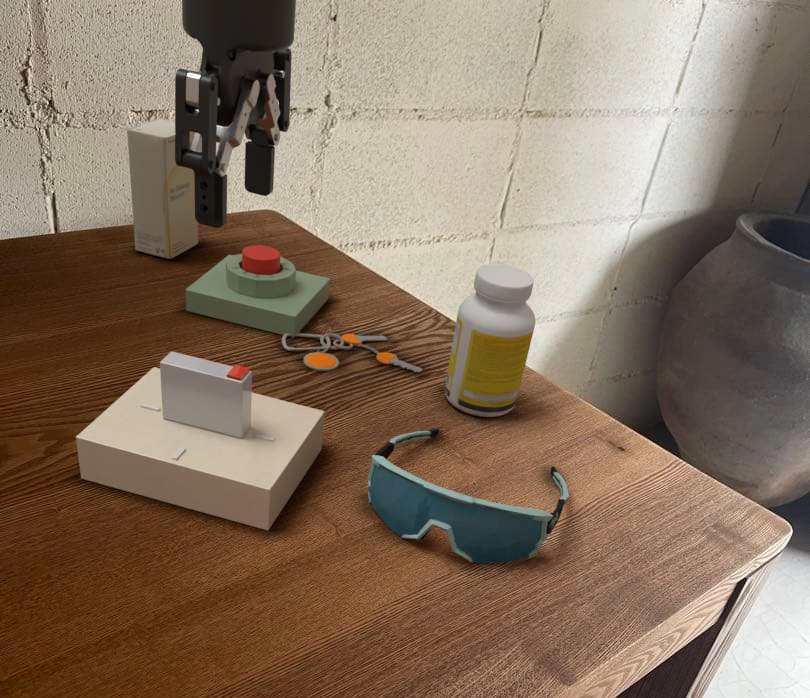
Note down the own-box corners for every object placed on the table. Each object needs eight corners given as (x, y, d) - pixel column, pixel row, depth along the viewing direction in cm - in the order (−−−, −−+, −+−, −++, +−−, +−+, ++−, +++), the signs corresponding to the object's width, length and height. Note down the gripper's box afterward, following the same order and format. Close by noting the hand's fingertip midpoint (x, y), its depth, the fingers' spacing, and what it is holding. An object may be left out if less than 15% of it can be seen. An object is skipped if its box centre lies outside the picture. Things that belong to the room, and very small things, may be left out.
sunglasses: (337, 522, 60) (348, 459, 57) (410, 447, 72) (421, 392, 70) (530, 591, 57) (550, 528, 55) (571, 500, 69) (589, 445, 67)
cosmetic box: (170, 261, 90) (165, 138, 83) (132, 251, 91) (124, 128, 83) (200, 243, 95) (198, 125, 87) (164, 233, 96) (159, 116, 88)
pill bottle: (526, 419, 75) (558, 292, 68) (456, 422, 73) (482, 292, 66) (499, 381, 80) (526, 259, 72) (433, 383, 78) (455, 258, 70)
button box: (185, 311, 82) (184, 270, 80) (229, 274, 90) (229, 236, 87) (294, 338, 81) (296, 298, 78) (328, 298, 88) (331, 261, 86)
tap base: (80, 478, 60) (75, 434, 58) (156, 405, 69) (153, 364, 66) (268, 531, 59) (270, 487, 56) (321, 449, 67) (325, 409, 65)
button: (235, 272, 82) (236, 254, 81) (250, 259, 85) (251, 242, 84) (271, 280, 81) (272, 262, 80) (285, 267, 84) (286, 250, 83)
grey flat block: (162, 418, 61) (159, 358, 58) (173, 406, 62) (171, 347, 59) (241, 438, 60) (242, 379, 57) (251, 426, 62) (252, 367, 59)
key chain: (282, 370, 76) (282, 361, 76) (281, 332, 82) (281, 323, 81) (423, 377, 79) (424, 369, 78) (412, 340, 84) (413, 332, 84)
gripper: (234, -58, 62) (231, 174, 72) (130, -47, 51) (144, 224, 62) (331, -37, 61) (314, 194, 71) (247, -22, 50) (241, 249, 61)
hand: (235, 208), depth 66 cm, fingers open, 8 cm apart
